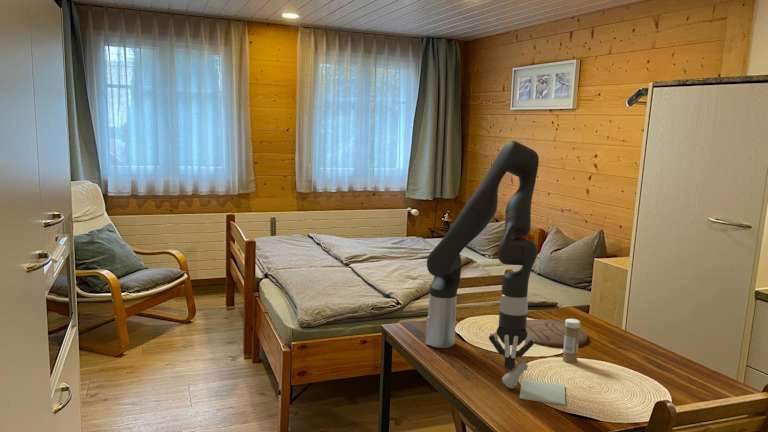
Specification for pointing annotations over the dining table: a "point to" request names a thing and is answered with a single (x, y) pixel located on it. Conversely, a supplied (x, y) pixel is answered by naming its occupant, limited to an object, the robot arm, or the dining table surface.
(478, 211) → the robot arm
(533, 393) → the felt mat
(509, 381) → the rook chess piece
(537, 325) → the trivet
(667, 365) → the dining table surface
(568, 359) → the sprinkles bottle
